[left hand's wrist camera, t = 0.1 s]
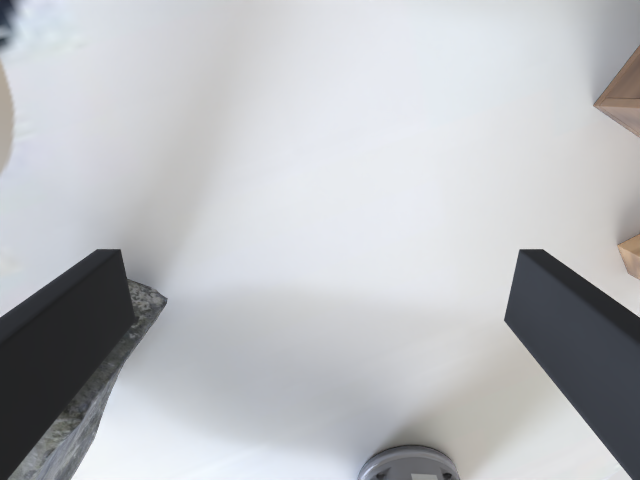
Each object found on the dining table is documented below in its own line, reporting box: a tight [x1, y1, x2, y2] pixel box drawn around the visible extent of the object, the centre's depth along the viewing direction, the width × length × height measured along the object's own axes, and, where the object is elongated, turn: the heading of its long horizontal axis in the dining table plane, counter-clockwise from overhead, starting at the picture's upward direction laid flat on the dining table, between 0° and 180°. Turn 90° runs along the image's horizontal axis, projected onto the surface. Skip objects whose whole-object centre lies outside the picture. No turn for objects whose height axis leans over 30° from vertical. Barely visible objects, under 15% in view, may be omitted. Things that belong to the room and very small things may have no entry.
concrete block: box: [8, 279, 168, 480], centre depth 38 cm, size 27×9×20 cm, turn 147°
